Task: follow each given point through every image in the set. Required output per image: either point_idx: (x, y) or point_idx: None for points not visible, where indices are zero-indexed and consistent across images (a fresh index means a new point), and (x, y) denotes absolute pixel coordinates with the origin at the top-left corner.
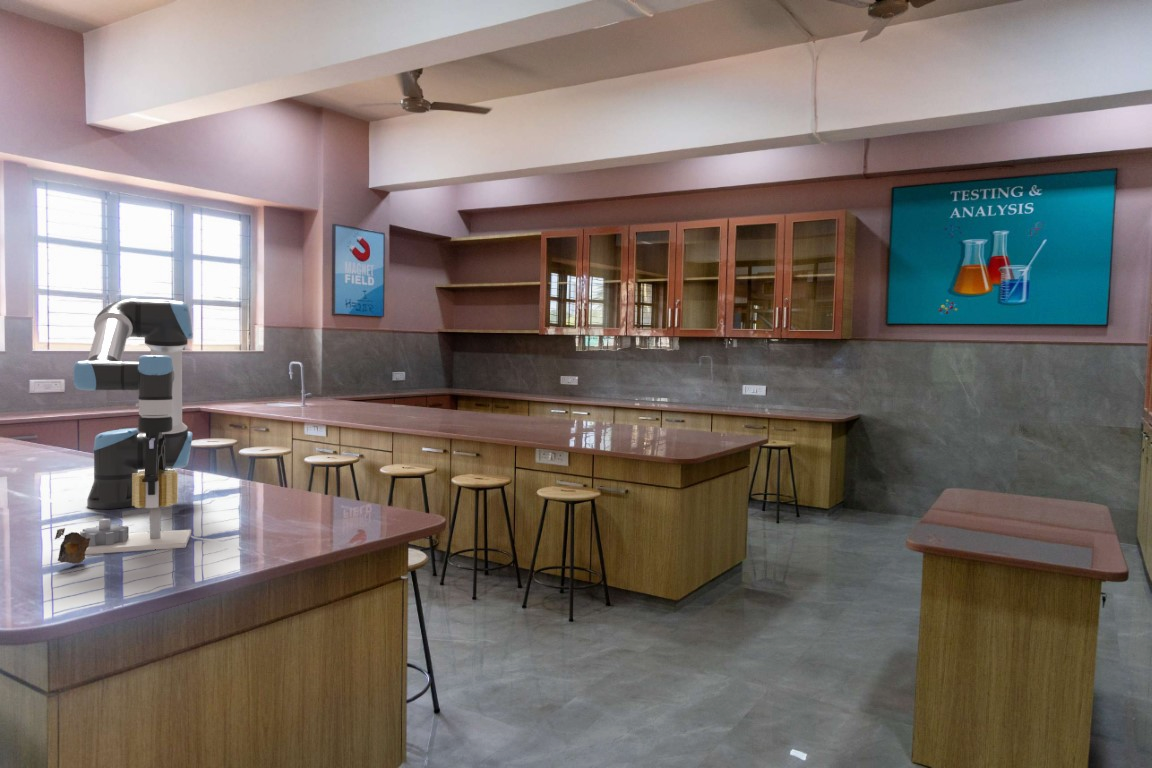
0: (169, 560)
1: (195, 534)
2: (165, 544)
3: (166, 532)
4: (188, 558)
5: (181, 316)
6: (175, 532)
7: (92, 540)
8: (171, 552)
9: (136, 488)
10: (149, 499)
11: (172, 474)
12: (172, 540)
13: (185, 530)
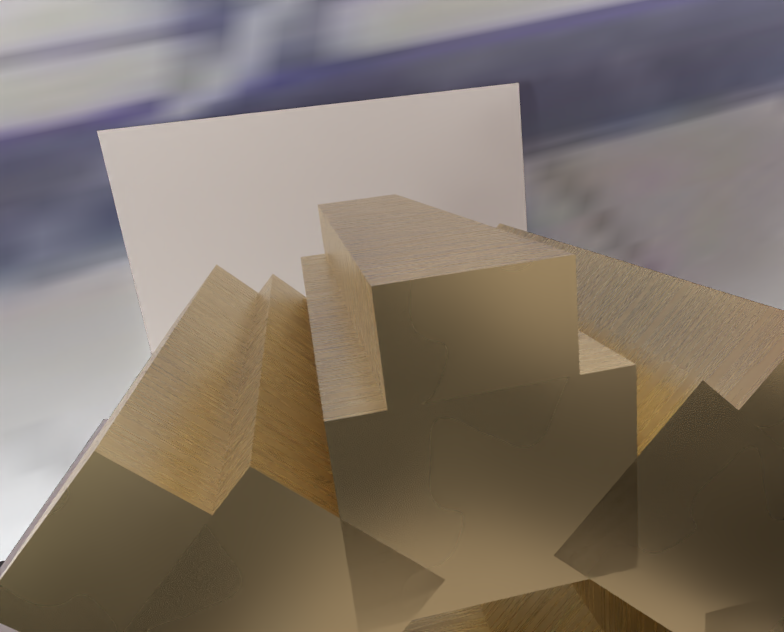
0: (771, 115)
1: (123, 95)
2: (525, 208)
3: (188, 294)
4: (764, 9)
5: None
6: (195, 229)
7: None
8: (603, 148)
9: None
10: None
11: (610, 355)
12: (438, 188)
13: (131, 169)
